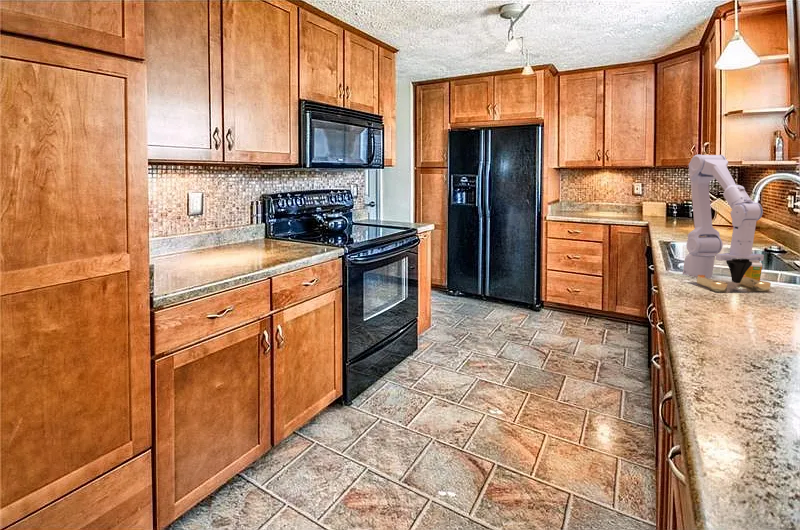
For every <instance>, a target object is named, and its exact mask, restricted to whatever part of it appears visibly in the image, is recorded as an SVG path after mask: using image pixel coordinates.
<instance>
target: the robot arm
mask: <svg viewBox="0 0 800 530" xmlns="http://www.w3.org/2000/svg"><path fill="white" fill-rule="evenodd" d="M728 165H729V160H727V158H726V156H725V155H723V154H695V155H693V157H692V158H691V159H690V162H689V163H688V174H689V180H690V189H691V201H692V212H693V213H692V214H693V224H694V225H693V226H694V228H693V229H692V230H691V231H690V232H688V234H687V241H686V249H687V251H688V252H689V253H688V254H686V256H685V257H684V260H683V268H682V275H689V276H691V277H696V278H698V275H705V277H706V278H709V279H712V278H713V273H714V267H715V260H716V261H719V262H722V261H725V262H726V264H727V266H728V268H729V272H730V275H731V282H735V283H740V282H741V280H742V278H743V276H744V274H745V272H746V271H747V270H748V268H749V267H750V266H751V265H752V262H750V261H749V260H759V261H760V262H762V261H764V258H765V254H761V253H752V252H753V247H754V239H755V234H756V233H755V232H756V226H757V222H758V221H759V220H760V219H761V218H762V216H763V214H764V210H763V207H762V205H761V203H759V202H755V200H752V199H751V197H750V196H749V194H748V193H747V191H746V187H744V186H743V185H740V184H736V182H735V180H734V178H733V176H732V173H731V172H730V171H729V169H728ZM714 180H716V181H717V183H718V184H719V185H720V186H721V188H722V189H723V190H724V191H723V195H722V196H723V197H724V200H726V202H727V204H728V205H729V207H730V208H731V210H730V217H731V224H732V227H733V228H732V234H731V241H730V248H729V252H726V253H720V252H721V251H722V249H723V246H724V244H723V240H722V238H721V236H720V231H718V230H717V229H715V227H713V221H712V220H713V219H712V217H713V216H712V208H711V207H712V206H711V198H710V197H711V196H710V185H709V184H710V182H713V181H714Z"/></svg>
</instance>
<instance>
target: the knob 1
mask: <svg viewBox="0 0 800 530" xmlns="http://www.w3.org/2000/svg"><path fill="white" fill-rule="evenodd" d="M696 278H697V279H696V282H697V283H698V284H700V285H703V286H706V287H709V288H710V290H712V291H717V292H726V291H727V284H728V283H726V282H727V281H721V280H715V279H712V278H706V277H705V275H698V277H696Z"/></svg>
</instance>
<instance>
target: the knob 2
mask: <svg viewBox="0 0 800 530" xmlns="http://www.w3.org/2000/svg"><path fill="white" fill-rule="evenodd" d="M739 284H742V285H745V286H748V287H752V289H753V290H756V291H762V292H769V291H771V284H772V283H771V282H769V281H765V280H760V281H758V280H755V279H751V278H748V277H746V275H744V276H743V278H742V280H741V282H740V283H739Z"/></svg>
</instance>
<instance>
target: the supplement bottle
mask: <svg viewBox="0 0 800 530" xmlns="http://www.w3.org/2000/svg"><path fill="white" fill-rule="evenodd" d="M749 261H750V262H752V265H751V266H750V267H749V268H748V270H747V271H746V272H745V274H744V275H746V277H748V278H751V279H755V280H758V281H761V277H762V276H761V275H762V269H763V263H762V262H761V261H759V260H749Z"/></svg>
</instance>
